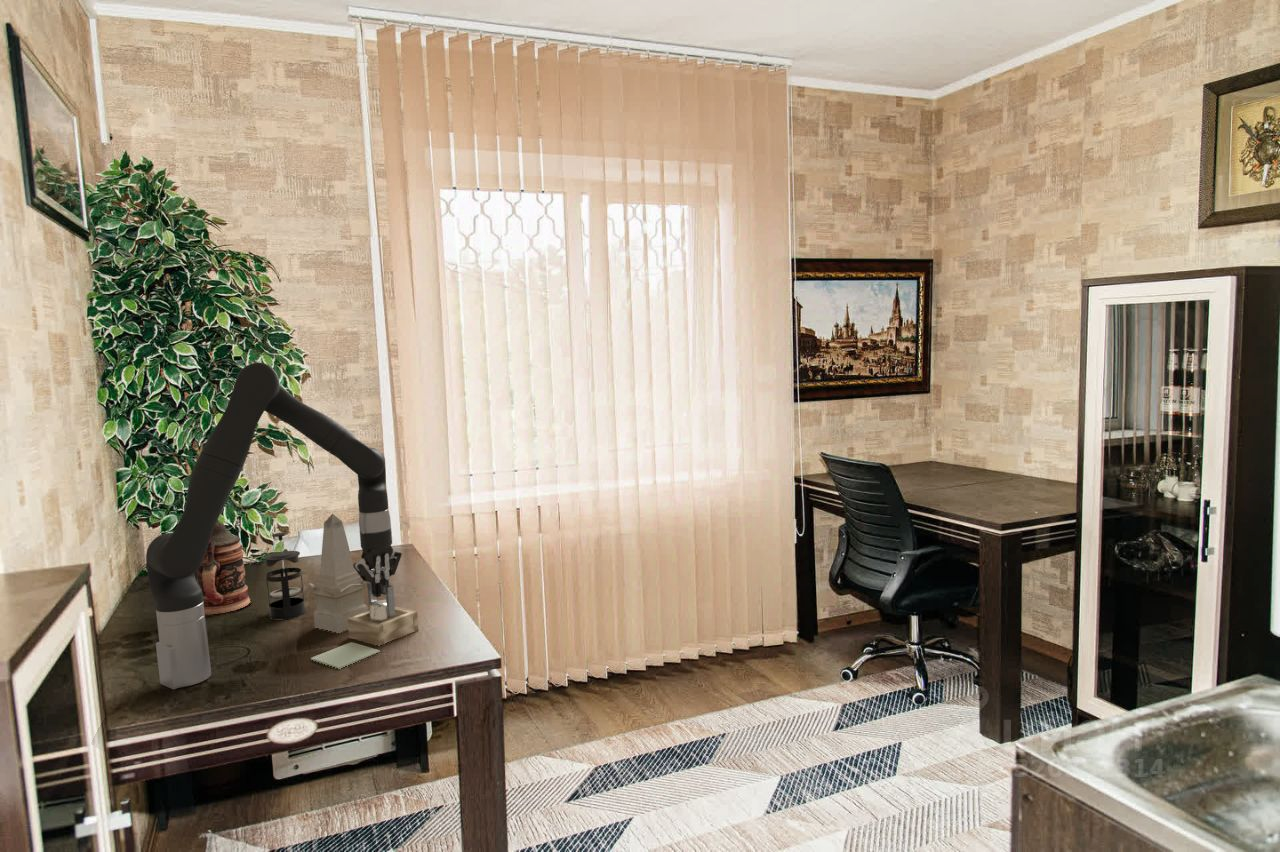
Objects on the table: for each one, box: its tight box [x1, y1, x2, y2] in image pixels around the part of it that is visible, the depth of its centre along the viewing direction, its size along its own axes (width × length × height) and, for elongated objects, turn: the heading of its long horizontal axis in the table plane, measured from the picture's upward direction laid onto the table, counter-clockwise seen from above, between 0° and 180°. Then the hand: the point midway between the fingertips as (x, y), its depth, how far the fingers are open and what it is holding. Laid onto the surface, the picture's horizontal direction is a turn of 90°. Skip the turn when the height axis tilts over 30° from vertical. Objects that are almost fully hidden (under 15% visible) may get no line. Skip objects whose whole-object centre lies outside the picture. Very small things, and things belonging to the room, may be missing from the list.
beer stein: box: [196, 519, 251, 614], centre depth 226 cm, size 17×28×18 cm
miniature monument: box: [308, 513, 369, 634], centre depth 207 cm, size 10×10×30 cm
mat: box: [310, 641, 381, 670], centre depth 187 cm, size 11×11×1 cm
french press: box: [263, 531, 307, 620], centre depth 219 cm, size 12×9×23 cm
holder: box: [347, 606, 419, 647], centre depth 201 cm, size 12×12×5 cm
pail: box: [366, 582, 395, 624], centre depth 200 cm, size 6×8×13 cm
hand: (380, 594), depth 200 cm, fingers closed on pail, 1 cm apart
